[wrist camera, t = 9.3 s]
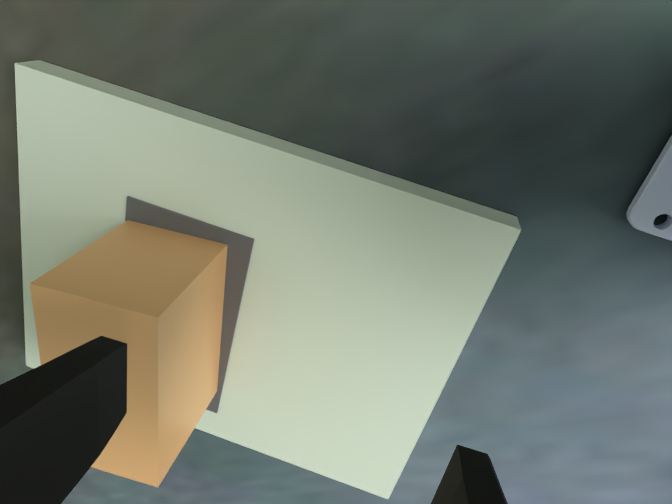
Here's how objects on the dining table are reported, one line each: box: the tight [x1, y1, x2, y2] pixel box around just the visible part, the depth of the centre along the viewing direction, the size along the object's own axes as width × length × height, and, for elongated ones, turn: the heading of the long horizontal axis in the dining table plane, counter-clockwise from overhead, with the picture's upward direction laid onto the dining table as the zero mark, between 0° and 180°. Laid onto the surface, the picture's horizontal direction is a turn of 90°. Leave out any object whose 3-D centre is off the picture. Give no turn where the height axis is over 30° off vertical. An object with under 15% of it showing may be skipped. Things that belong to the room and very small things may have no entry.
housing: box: [30, 220, 228, 487], centre depth 18 cm, size 4×7×5 cm, turn 171°
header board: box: [15, 60, 521, 499], centre depth 19 cm, size 18×14×4 cm
